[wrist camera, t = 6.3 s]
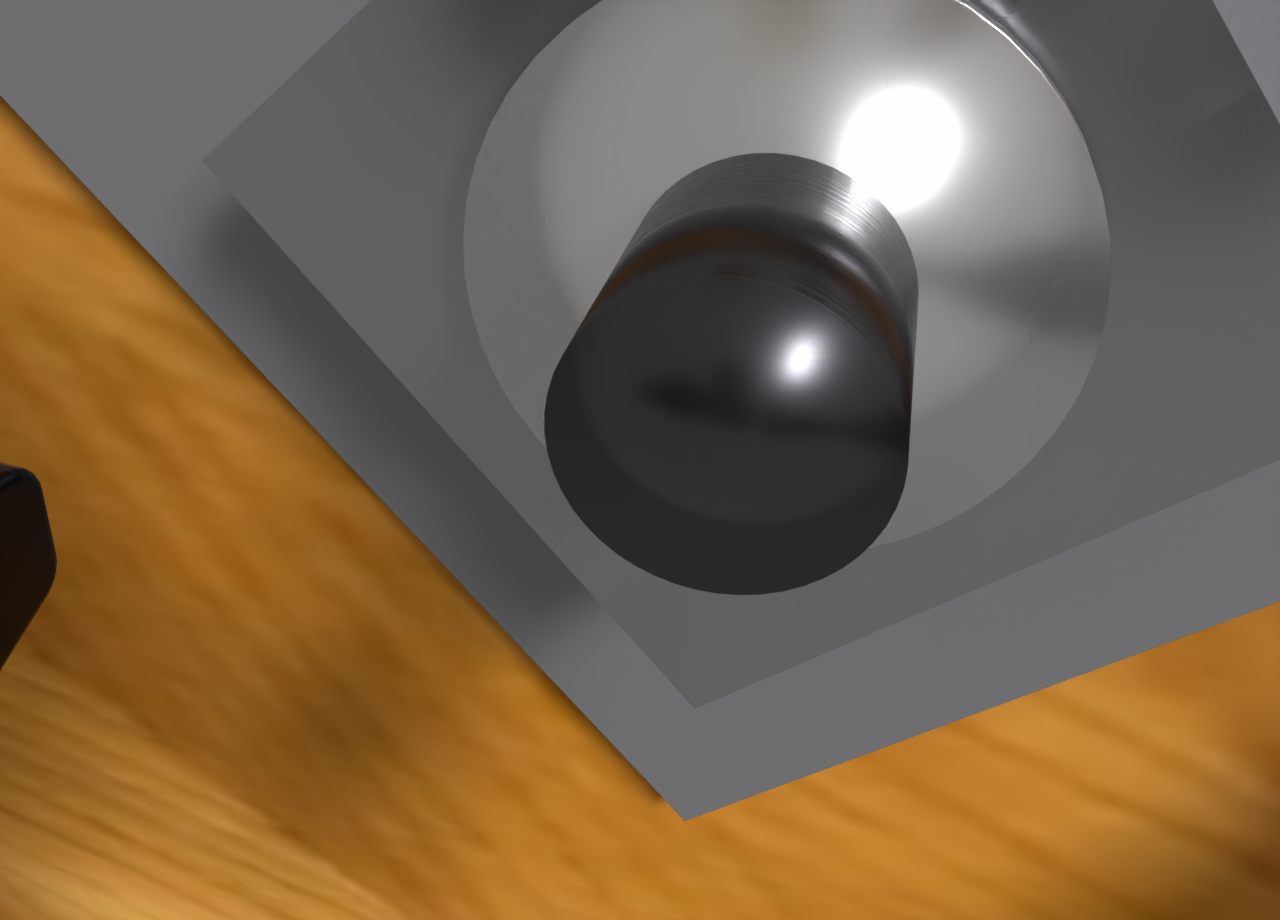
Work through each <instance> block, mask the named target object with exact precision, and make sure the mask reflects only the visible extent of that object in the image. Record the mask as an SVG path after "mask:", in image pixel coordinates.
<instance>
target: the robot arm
mask: <svg viewBox="0 0 1280 920" xmlns="http://www.w3.org/2000/svg"><path fill="white" fill-rule="evenodd" d="M56 564H57V558H56V552H55V547H54V542H53V538H52V533H51V529H50V524H49V519H48V515H47V510H46V506H45V501H44V496H43V492H42V488H41V485H40V482H39V481H38V479H37V478H36V477H35V475H34V474H33V473H32V472H30V471H28V470H27V469H24V468H21V467H17V466H13V465H8V464H4V463H0V670H1V669H2V667H3V666H4V664H5V662H6V661H7V659H8V657H9V656H10V654H11V653H12V651H13V649H14V648H15V646H16V645H17V643H18V641H19V640H20V638H21V637H22V635H23V633H24V632H25V630H26V629H27V627H28V625H29V624H30V622H31V620H32V619H33V617H34V616H35V614H36V612H37V611H38V609H39V608H40V606H41V604H42V603H43V601H44V600H45V598H46V596H47V595H48V593H49V591H50V589H51V586H52V584H53V581H54V578H55V573H56Z"/></svg>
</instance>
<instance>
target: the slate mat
mask: <svg viewBox="0 0 1280 920" xmlns="http://www.w3.org/2000/svg"><path fill="white" fill-rule="evenodd" d="M370 1H371V0H0V96H1V97H2V98H3V99H4V100H5V101H6V102H7V103H8V104H9V105H10V106H11V107H12V108H13V110H14V111H15V112H16V113H17V114H18V115H19V116H20V117H21V118H22V119H23V120H24V121H25V122H26V123H27V124H28V125H29V126H30V128H31V129H32V130H33V131H34V132H35V133H36V134H37V135H38V136H39V137H40V138H41V139H42V140H43V141H44V142H45V143H46V144H47V146H48V147H49V148H50V149H51V150H52V151H53V152H54V153H55V154H56V155H57V156H58V157H59V158H60V159H61V160H62V161H63V163H64V164H65V165H66V166H67V167H68V168H69V169H70V170H71V171H72V172H73V173H74V174H75V175H76V176H77V177H78V178H79V179H80V181H81V182H82V183H83V184H84V185H85V186H86V187H87V188H88V189H89V190H90V191H91V192H92V193H93V194H94V195H95V196H96V197H97V199H98V200H99V201H100V202H101V203H102V204H103V205H104V206H105V207H106V208H107V209H108V210H109V211H110V212H111V213H112V214H113V216H114V217H115V218H116V219H117V220H118V221H119V222H120V223H121V224H122V225H123V226H124V227H125V228H126V229H127V230H128V231H129V232H130V234H131V235H132V236H133V237H134V238H135V239H136V240H137V241H138V242H139V243H140V244H141V245H142V246H143V247H144V248H145V249H146V250H147V252H148V253H149V254H150V255H151V256H152V257H153V258H154V259H155V260H156V261H157V262H158V263H159V264H160V265H161V266H162V267H163V268H164V270H165V271H166V272H167V273H168V274H169V275H170V276H171V277H172V278H173V279H174V280H175V281H176V282H177V283H178V284H179V285H180V287H181V288H182V289H183V290H184V291H185V292H186V293H187V294H188V295H189V296H190V297H191V298H192V299H193V300H194V301H195V302H196V303H197V305H198V306H199V307H200V308H201V309H202V310H203V311H204V312H205V313H206V314H207V315H208V316H209V317H210V318H211V319H212V320H213V321H214V323H215V324H216V325H217V326H218V327H219V328H220V329H221V330H222V331H223V332H224V333H225V334H226V335H227V336H228V337H229V338H230V340H231V341H232V342H233V343H234V344H235V345H236V346H237V347H238V348H239V349H240V350H241V351H242V352H243V353H244V354H245V355H246V356H247V358H248V359H249V360H250V361H251V362H252V363H253V364H254V365H255V366H256V367H257V368H258V369H259V370H260V371H261V372H262V373H263V374H264V376H265V377H266V378H267V379H268V380H269V381H270V382H271V383H272V384H273V385H274V386H275V387H276V388H277V389H278V390H279V391H280V392H281V394H282V395H283V396H284V397H285V398H286V399H287V400H288V401H289V402H290V403H291V404H292V405H293V406H294V407H295V408H296V409H297V411H298V412H299V413H300V414H301V415H302V416H303V417H304V418H305V419H306V420H307V421H308V422H309V423H310V424H311V425H312V426H313V427H314V429H315V430H316V431H317V432H318V433H319V434H320V435H321V436H322V437H323V438H324V439H325V440H326V441H327V442H328V443H329V444H330V445H331V447H332V448H333V449H334V450H335V451H336V452H337V453H338V454H339V455H340V456H341V457H342V458H343V459H344V460H345V461H346V462H347V464H348V465H349V466H350V467H351V468H352V469H353V470H354V471H355V472H356V473H357V474H358V475H359V476H360V477H361V478H362V479H363V480H364V482H365V483H366V484H367V485H368V486H369V487H370V488H371V489H372V490H373V491H374V492H375V493H376V494H377V495H378V496H379V497H380V498H381V500H382V501H383V502H384V503H385V504H386V505H387V506H388V507H389V508H390V509H391V510H392V511H393V512H394V513H395V514H396V515H397V516H398V518H399V519H400V520H401V521H402V522H403V523H404V524H405V525H406V526H407V527H408V528H409V529H410V530H411V531H412V532H413V533H414V535H415V536H416V537H417V538H418V539H419V540H420V541H421V542H422V543H423V544H424V545H425V546H426V547H427V548H428V549H429V550H430V551H431V553H432V554H433V555H434V556H435V557H436V558H437V559H438V560H439V561H440V562H441V563H442V564H443V565H444V566H445V567H446V568H447V569H448V571H449V572H450V573H451V574H452V575H453V576H454V577H455V578H456V579H457V580H458V581H459V582H460V583H461V584H462V585H463V586H464V588H465V589H466V590H467V591H468V592H469V593H470V594H471V595H472V596H473V597H474V598H475V599H476V600H477V601H478V602H479V603H480V604H481V606H482V607H483V608H484V609H485V610H486V611H487V612H488V613H489V614H490V615H491V616H492V617H493V618H494V619H495V620H496V621H497V622H498V624H499V625H500V626H501V627H502V628H503V629H504V630H505V631H506V632H507V633H508V634H509V635H510V636H511V637H512V638H513V639H514V640H515V642H516V643H517V644H518V645H519V646H520V647H521V648H522V649H523V650H524V651H525V652H526V653H527V654H528V655H529V656H530V657H531V659H532V660H533V661H534V662H535V663H536V664H537V665H538V666H539V667H540V668H541V669H542V670H543V671H544V672H545V673H546V674H547V675H548V677H549V678H550V679H551V680H552V681H553V682H554V683H555V684H556V685H557V686H558V687H559V688H560V689H561V690H562V691H563V692H564V693H565V695H566V696H567V697H568V698H569V699H570V700H571V701H572V702H573V703H574V704H575V705H576V706H577V707H578V708H579V709H580V710H581V712H582V713H583V714H584V715H585V716H586V717H587V718H588V719H589V720H590V721H591V722H592V723H593V724H594V725H595V726H596V727H597V728H598V730H599V731H600V732H601V733H602V734H603V735H604V736H605V737H606V738H607V739H608V740H609V741H610V742H611V743H612V744H613V745H614V746H615V748H616V749H617V750H618V751H619V752H620V753H621V754H622V755H623V756H624V757H625V758H626V759H627V760H628V761H629V762H630V763H631V764H632V766H633V767H634V768H635V769H636V770H637V771H638V772H639V773H640V774H641V775H642V776H643V777H644V778H645V779H646V780H647V781H648V783H649V784H650V785H651V786H652V787H653V788H654V789H655V790H656V791H657V792H658V793H659V794H660V795H661V796H662V797H663V798H664V799H665V801H666V802H667V803H668V804H669V805H670V806H671V807H672V808H673V809H674V810H675V811H676V812H677V813H678V814H679V815H680V816H681V817H682V819H683V820H684V821H686V820H689V819H692V818H694V817H697V816H700V815H702V814H705V813H708V812H710V811H713V810H716V809H719V808H721V807H724V806H727V805H729V804H732V803H735V802H738V801H740V800H743V799H746V798H748V797H751V796H754V795H757V794H759V793H762V792H765V791H767V790H770V789H773V788H775V787H778V786H781V785H784V784H786V783H789V782H792V781H794V780H797V779H800V778H803V777H805V776H808V775H811V774H813V773H816V772H819V771H821V770H824V769H827V768H830V767H832V766H835V765H838V764H840V763H843V762H846V761H849V760H851V759H854V758H857V757H859V756H862V755H865V754H868V753H870V752H873V751H876V750H878V749H881V748H884V747H886V746H889V745H892V744H895V743H897V742H900V741H903V740H905V739H908V738H911V737H914V736H916V735H919V734H922V733H924V732H927V731H930V730H933V729H935V728H938V727H941V726H943V725H946V724H949V723H951V722H954V721H957V720H960V719H962V718H965V717H968V716H970V715H973V714H976V713H979V712H981V711H984V710H987V709H989V708H992V707H995V706H998V705H1000V704H1003V703H1006V702H1008V701H1011V700H1014V699H1016V698H1019V697H1022V696H1025V695H1027V694H1030V693H1033V692H1035V691H1038V690H1041V689H1044V688H1046V687H1049V686H1052V685H1054V684H1057V683H1060V682H1063V681H1065V680H1068V679H1071V678H1073V677H1076V676H1079V675H1081V674H1084V673H1087V672H1090V671H1092V670H1095V669H1098V668H1100V667H1103V666H1106V665H1109V664H1111V663H1114V662H1117V661H1119V660H1122V659H1125V658H1128V657H1130V656H1133V655H1136V654H1138V653H1141V652H1144V651H1146V650H1149V649H1152V648H1155V647H1157V646H1160V645H1163V644H1165V643H1168V642H1171V641H1174V640H1176V639H1179V638H1182V637H1184V636H1187V635H1190V634H1192V633H1195V632H1198V631H1201V630H1203V629H1206V628H1209V627H1211V626H1214V625H1217V624H1220V623H1222V622H1225V621H1228V620H1230V619H1233V618H1236V617H1239V616H1241V615H1244V614H1247V613H1249V612H1252V611H1255V610H1257V609H1260V608H1263V607H1266V606H1268V605H1271V604H1274V603H1276V602H1279V601H1280V460H1279V461H1276V462H1274V463H1271V464H1269V465H1267V466H1264V467H1262V468H1260V469H1257V470H1255V471H1253V472H1250V473H1248V474H1246V475H1243V476H1241V477H1239V478H1236V479H1234V480H1232V481H1229V482H1227V483H1224V484H1222V485H1220V486H1217V487H1215V488H1213V489H1210V490H1208V491H1206V492H1203V493H1201V494H1199V495H1196V496H1194V497H1192V498H1189V499H1187V500H1184V501H1182V502H1180V503H1177V504H1175V505H1173V506H1170V507H1168V508H1166V509H1163V510H1161V511H1159V512H1156V513H1154V514H1152V515H1149V516H1147V517H1145V518H1142V519H1140V520H1137V521H1135V522H1133V523H1130V524H1128V525H1126V526H1123V527H1121V528H1119V529H1116V530H1114V531H1112V532H1109V533H1107V534H1105V535H1102V536H1100V537H1098V538H1095V539H1093V540H1090V541H1088V542H1086V543H1083V544H1081V545H1079V546H1076V547H1074V548H1072V549H1069V550H1067V551H1065V552H1062V553H1060V554H1058V555H1055V556H1053V557H1050V558H1048V559H1046V560H1043V561H1041V562H1039V563H1036V564H1034V565H1032V566H1029V567H1027V568H1025V569H1022V570H1020V571H1018V572H1015V573H1013V574H1011V575H1008V576H1006V577H1003V578H1001V579H999V580H996V581H994V582H992V583H989V584H987V585H985V586H982V587H980V588H978V589H975V590H973V591H971V592H968V593H966V594H964V595H961V596H959V597H956V598H954V599H952V600H949V601H947V602H945V603H942V604H940V605H938V606H935V607H933V608H931V609H928V610H926V611H924V612H921V613H919V614H916V615H914V616H912V617H909V618H907V619H905V620H902V621H900V622H898V623H895V624H893V625H891V626H888V627H886V628H884V629H881V630H879V631H877V632H874V633H872V634H869V635H867V636H865V637H862V638H860V639H858V640H855V641H853V642H851V643H848V644H846V645H844V646H841V647H839V648H837V649H834V650H832V651H829V652H827V653H825V654H822V655H820V656H818V657H815V658H813V659H811V660H808V661H806V662H804V663H801V664H799V665H797V666H794V667H792V668H790V669H787V670H785V671H782V672H780V673H778V674H775V675H773V676H771V677H768V678H766V679H764V680H761V681H759V682H757V683H754V684H752V685H750V686H747V687H745V688H743V689H740V690H738V691H735V692H733V693H731V694H728V695H726V696H724V697H721V698H719V699H717V700H714V701H712V702H710V703H707V704H705V705H703V706H700V707H698V708H695V709H694V708H693V707H692V706H691V704H690V703H689V702H688V701H687V700H686V699H685V698H684V697H683V696H682V694H681V693H680V692H679V691H678V690H677V689H676V688H675V687H674V686H673V684H672V683H671V682H670V681H669V680H668V679H667V678H666V677H665V675H664V674H663V673H662V672H661V671H660V670H659V669H658V668H657V667H656V665H655V664H654V663H653V662H652V661H651V660H650V659H649V658H648V657H647V655H646V654H645V653H644V652H643V651H642V650H641V649H640V648H639V647H638V645H637V644H636V643H635V642H634V641H633V640H632V639H631V638H630V637H629V635H628V634H627V633H626V632H625V631H624V630H623V629H622V628H621V627H620V625H619V624H618V623H617V622H616V621H615V620H614V619H613V618H612V617H611V615H610V614H609V613H608V612H607V611H606V610H605V609H604V608H603V606H602V605H601V604H600V603H599V602H598V601H597V600H596V599H595V598H594V596H593V595H592V594H591V593H590V592H589V591H588V590H587V589H586V588H585V586H584V585H583V584H582V583H581V582H580V581H579V580H578V579H577V578H576V576H575V575H574V574H573V573H572V572H571V571H570V570H569V569H568V568H567V566H566V565H565V564H564V563H563V562H562V561H561V560H560V559H559V558H558V556H557V555H556V554H555V553H554V552H553V551H552V550H551V549H550V548H549V546H548V545H547V544H546V543H545V542H544V541H543V540H542V539H541V537H540V536H539V535H538V534H537V533H536V532H535V531H534V530H533V529H532V527H531V526H530V525H529V524H528V523H527V522H526V521H525V520H524V519H523V517H522V516H521V515H520V514H519V513H518V512H517V511H516V510H515V509H514V507H513V506H512V505H511V504H510V503H509V502H508V501H507V500H506V499H505V497H504V496H503V495H502V494H501V493H500V492H499V491H498V490H497V489H496V487H495V486H494V485H493V484H492V483H491V482H490V481H489V480H488V479H487V477H486V476H485V475H484V474H483V473H482V472H481V471H480V470H479V468H478V467H477V466H476V465H475V464H474V463H473V462H472V461H471V460H470V458H469V457H468V456H467V455H466V454H465V453H464V452H463V451H462V450H461V448H460V447H459V446H458V445H457V444H456V443H455V442H454V441H453V440H452V438H451V437H450V436H449V435H448V434H447V433H446V432H445V431H444V430H443V428H442V427H441V426H440V425H439V424H438V423H437V422H436V421H435V420H434V418H433V417H432V416H431V415H430V414H429V413H428V412H427V411H426V410H425V408H424V407H423V406H422V405H421V404H420V403H419V402H418V401H417V399H416V398H415V397H414V396H413V395H412V394H411V393H410V392H409V391H408V389H407V388H406V387H405V386H404V385H403V384H402V383H401V382H400V381H399V379H398V378H397V377H396V376H395V375H394V374H393V373H392V372H391V371H390V369H389V368H388V367H387V366H386V365H385V364H384V363H383V362H382V361H381V359H380V358H379V357H378V356H377V355H376V354H375V353H374V352H373V351H372V349H371V348H370V347H369V346H368V345H367V344H366V343H365V342H364V341H363V339H362V338H361V337H360V336H359V335H358V334H357V333H356V332H355V330H354V329H353V328H352V327H351V326H350V325H349V324H348V323H347V322H346V320H345V319H344V318H343V317H342V316H341V315H340V314H339V313H338V312H337V310H336V309H335V308H334V307H333V306H332V305H331V304H330V303H329V302H328V300H327V299H326V298H325V297H324V296H323V295H322V294H321V293H320V292H319V290H318V289H317V288H316V287H315V286H314V285H313V284H312V283H311V282H310V280H309V279H308V278H307V277H306V276H305V275H304V274H303V273H302V272H301V270H300V269H299V268H298V267H297V266H296V265H295V264H294V263H293V261H292V260H291V259H290V258H289V257H288V256H287V255H286V254H285V253H284V251H283V250H282V249H281V248H280V247H279V246H278V245H277V244H276V243H275V241H274V240H273V239H272V238H271V237H270V236H269V235H268V234H267V233H266V231H265V230H264V229H263V228H262V227H261V226H260V225H259V224H258V223H257V221H256V220H255V219H254V218H253V217H252V216H251V215H250V214H249V213H248V211H247V210H246V209H245V208H244V207H243V206H242V205H241V204H240V203H239V201H238V200H237V199H236V198H235V197H234V196H233V195H232V194H231V192H230V191H229V190H228V189H227V188H226V187H225V186H224V185H223V184H222V182H221V181H220V180H219V179H218V178H217V177H216V176H215V175H214V174H213V172H212V171H211V170H210V169H209V168H208V167H207V166H206V165H205V164H204V162H203V161H202V160H203V159H205V158H206V157H207V156H208V155H209V154H210V153H211V152H212V151H213V150H214V149H215V148H216V147H217V146H218V145H219V144H220V143H221V142H222V141H223V140H225V139H226V138H227V137H228V136H229V135H230V134H231V133H232V132H233V131H234V130H235V129H236V128H237V127H238V126H239V125H240V124H241V123H242V122H243V121H244V120H246V119H247V118H248V117H249V116H250V115H251V114H252V113H253V112H254V111H255V110H256V109H257V108H258V107H259V106H260V105H261V104H262V103H263V102H264V101H266V100H267V99H268V98H269V97H270V96H271V95H272V94H273V93H274V92H275V91H276V90H277V89H278V88H279V87H280V86H281V85H282V84H283V83H284V82H286V81H287V80H288V79H289V78H290V77H291V76H292V75H293V74H294V73H295V72H296V71H297V70H298V69H299V68H300V67H301V66H302V65H303V64H304V63H306V62H307V61H308V60H309V59H310V58H311V57H312V56H313V55H314V54H315V53H316V52H317V51H318V50H319V49H320V48H321V47H322V46H323V45H324V44H325V43H327V42H328V41H329V40H330V39H331V38H332V37H333V36H334V35H335V34H336V33H337V32H338V31H339V30H340V29H341V28H342V27H343V26H344V25H345V24H347V23H348V22H349V21H350V20H351V19H352V18H353V17H354V16H355V15H356V14H357V13H358V12H359V11H360V10H361V9H362V8H363V7H364V6H365V5H367V4H368V3H369V2H370ZM1213 2H1214V4H1215V6H1216V8H1217V10H1218V11H1219V13H1220V15H1221V17H1222V19H1223V21H1224V22H1225V24H1226V26H1227V28H1228V30H1229V32H1230V33H1231V35H1232V37H1233V39H1234V41H1235V43H1236V44H1237V46H1238V48H1239V50H1240V52H1241V54H1242V55H1243V57H1244V59H1245V61H1246V63H1247V65H1248V66H1249V68H1250V70H1251V72H1252V74H1253V76H1254V77H1255V79H1256V81H1257V83H1258V85H1259V87H1260V88H1261V90H1262V92H1263V94H1264V96H1265V98H1266V99H1267V101H1268V103H1269V105H1270V107H1271V109H1272V110H1273V112H1274V114H1275V116H1276V118H1277V120H1278V121H1279V123H1280V0H1213Z"/></svg>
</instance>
